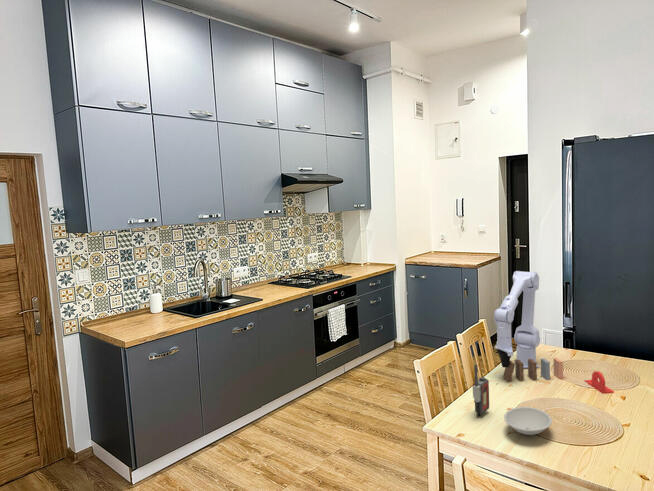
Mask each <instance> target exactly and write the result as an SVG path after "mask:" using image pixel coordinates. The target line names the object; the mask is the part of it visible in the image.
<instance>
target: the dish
mask: <svg viewBox="0 0 654 491" xmlns="http://www.w3.org/2000/svg"><path fill="white" fill-rule="evenodd" d="M503 418H504V421H505V422H506V424H507V425H509V427H510V428H512V429H513V430H515V431H516V432H517V433H520V434H523V435H525V436H526V435H530V436H532V435H538V434H540V433H542V432H544V431H545V430H547V429H548V428H549V427H550V426H551V425H552V422H553V419H552V417H551V416H550V414H549V413H547V412H546V411H545V410H543V409H539V408H536V407H531V406H519V407H514V408H511V409H508V410H507V411H505V413H504V416H503Z"/></svg>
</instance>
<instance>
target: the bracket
mask: <svg viewBox="0 0 654 491" xmlns="http://www.w3.org/2000/svg"><path fill="white" fill-rule="evenodd" d="M586 382H587V383H588V384H587V383H586ZM584 383H586V384H587V385H588V386H590V385H591V386H590V387H592V388H593V387H594V388H593V389H595V390H596V391H598V392H599V393H600V394H604V395H605V394H615V391H614V390H612V389H611V388H609V387H608V386H606V379H605V377H604V375H603V374H602V372H600V371H593V372H592V375H591V379H586V380H585V379H584Z"/></svg>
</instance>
